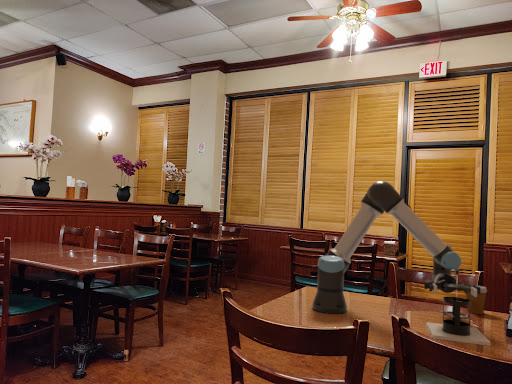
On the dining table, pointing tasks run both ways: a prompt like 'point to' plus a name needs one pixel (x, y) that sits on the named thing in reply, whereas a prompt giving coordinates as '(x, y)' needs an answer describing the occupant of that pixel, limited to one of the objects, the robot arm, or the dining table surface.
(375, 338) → the dining table surface
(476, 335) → the ceramic trivet
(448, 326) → the french press
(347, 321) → the dining table surface
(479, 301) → the disposable coffee cup
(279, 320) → the dining table surface
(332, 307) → the robot arm
